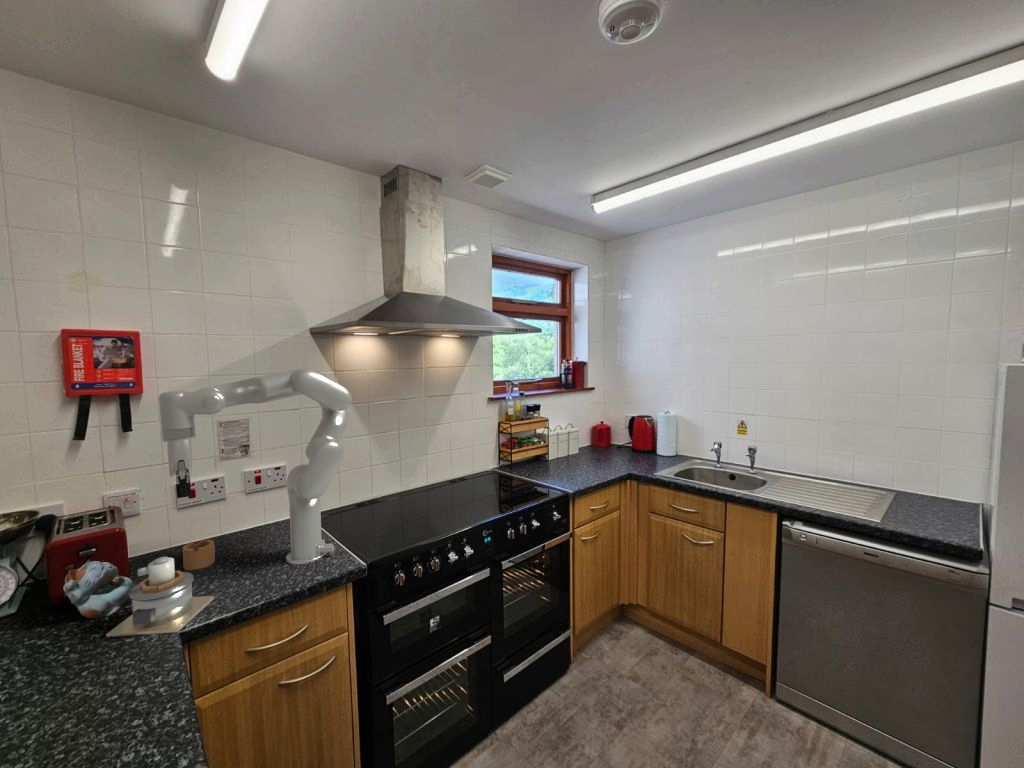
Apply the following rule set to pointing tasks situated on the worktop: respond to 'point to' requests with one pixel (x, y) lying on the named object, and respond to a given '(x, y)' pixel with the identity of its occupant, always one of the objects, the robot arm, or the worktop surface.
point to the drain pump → (159, 571)
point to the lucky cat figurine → (97, 588)
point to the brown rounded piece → (198, 555)
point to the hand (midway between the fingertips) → (184, 492)
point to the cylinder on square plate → (161, 607)
